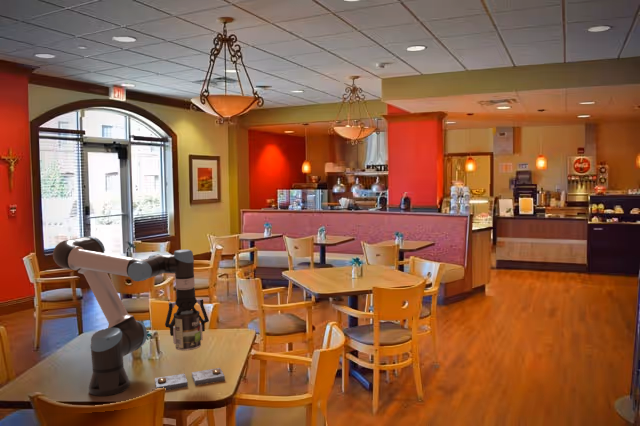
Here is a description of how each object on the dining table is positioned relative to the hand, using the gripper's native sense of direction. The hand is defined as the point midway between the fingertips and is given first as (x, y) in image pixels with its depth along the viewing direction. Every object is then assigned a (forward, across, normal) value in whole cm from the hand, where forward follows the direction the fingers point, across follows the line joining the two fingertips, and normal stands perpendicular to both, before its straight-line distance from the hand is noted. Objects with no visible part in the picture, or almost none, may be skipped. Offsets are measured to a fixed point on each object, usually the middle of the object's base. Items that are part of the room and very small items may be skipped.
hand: (188, 341), depth 217 cm
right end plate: (+17, +7, 0) cm, 19 cm away
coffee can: (+3, 0, 0) cm, 3 cm away
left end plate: (+17, -8, 0) cm, 19 cm away
